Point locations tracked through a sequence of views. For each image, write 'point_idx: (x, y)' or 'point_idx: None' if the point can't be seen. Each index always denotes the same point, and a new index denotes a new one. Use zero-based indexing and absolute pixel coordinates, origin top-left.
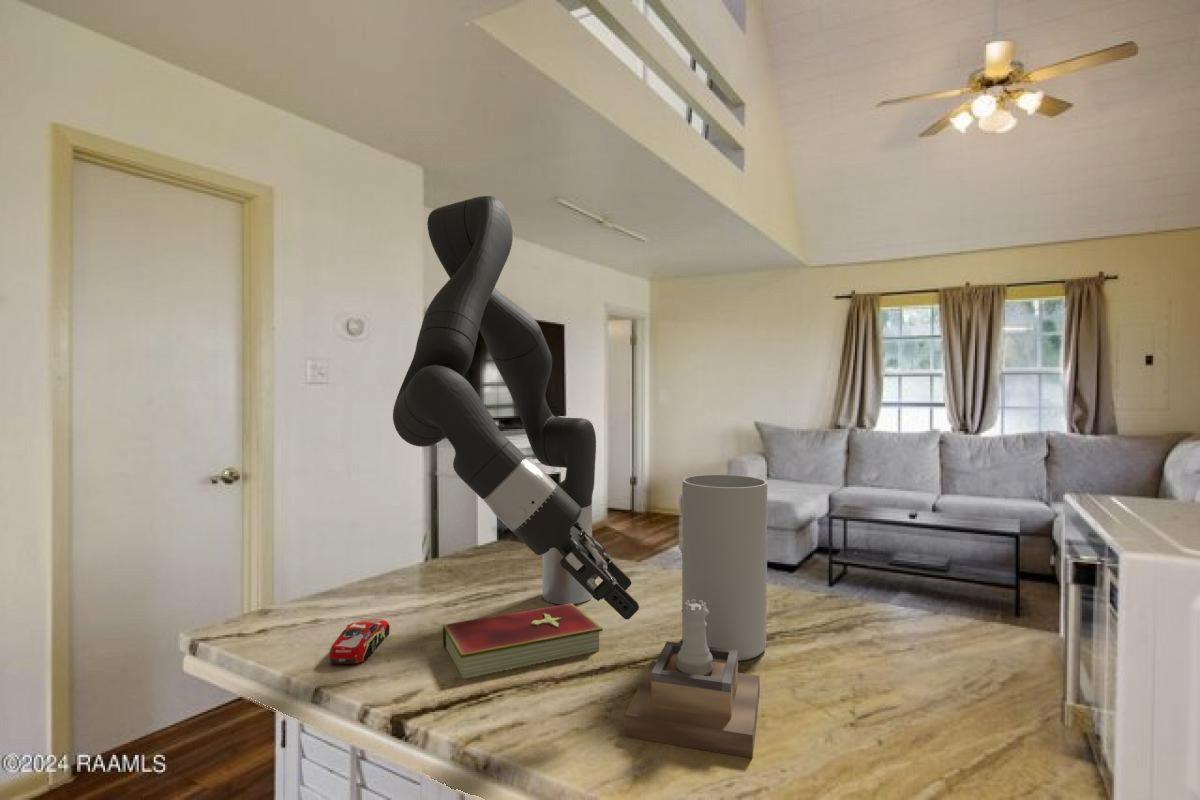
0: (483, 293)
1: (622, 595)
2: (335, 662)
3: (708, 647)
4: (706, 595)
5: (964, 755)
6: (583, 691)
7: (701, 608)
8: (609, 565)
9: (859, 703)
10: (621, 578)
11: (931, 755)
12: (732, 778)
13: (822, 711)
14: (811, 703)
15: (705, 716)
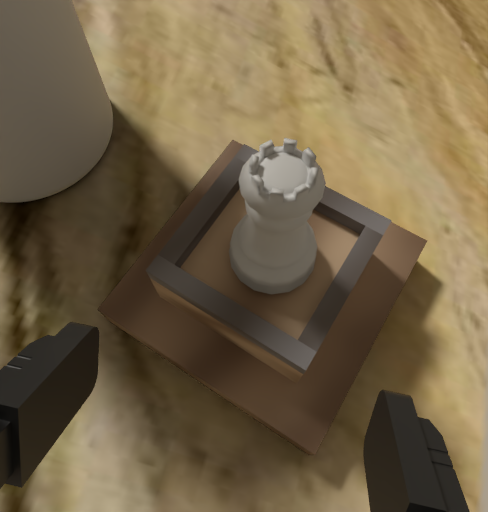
0: None
1: (450, 483)
2: None
3: (211, 193)
4: (14, 90)
5: (437, 20)
6: (99, 497)
7: (309, 163)
8: (21, 426)
9: (296, 51)
10: (73, 367)
11: (433, 49)
12: (460, 310)
13: (305, 104)
14: (279, 106)
15: (354, 291)
